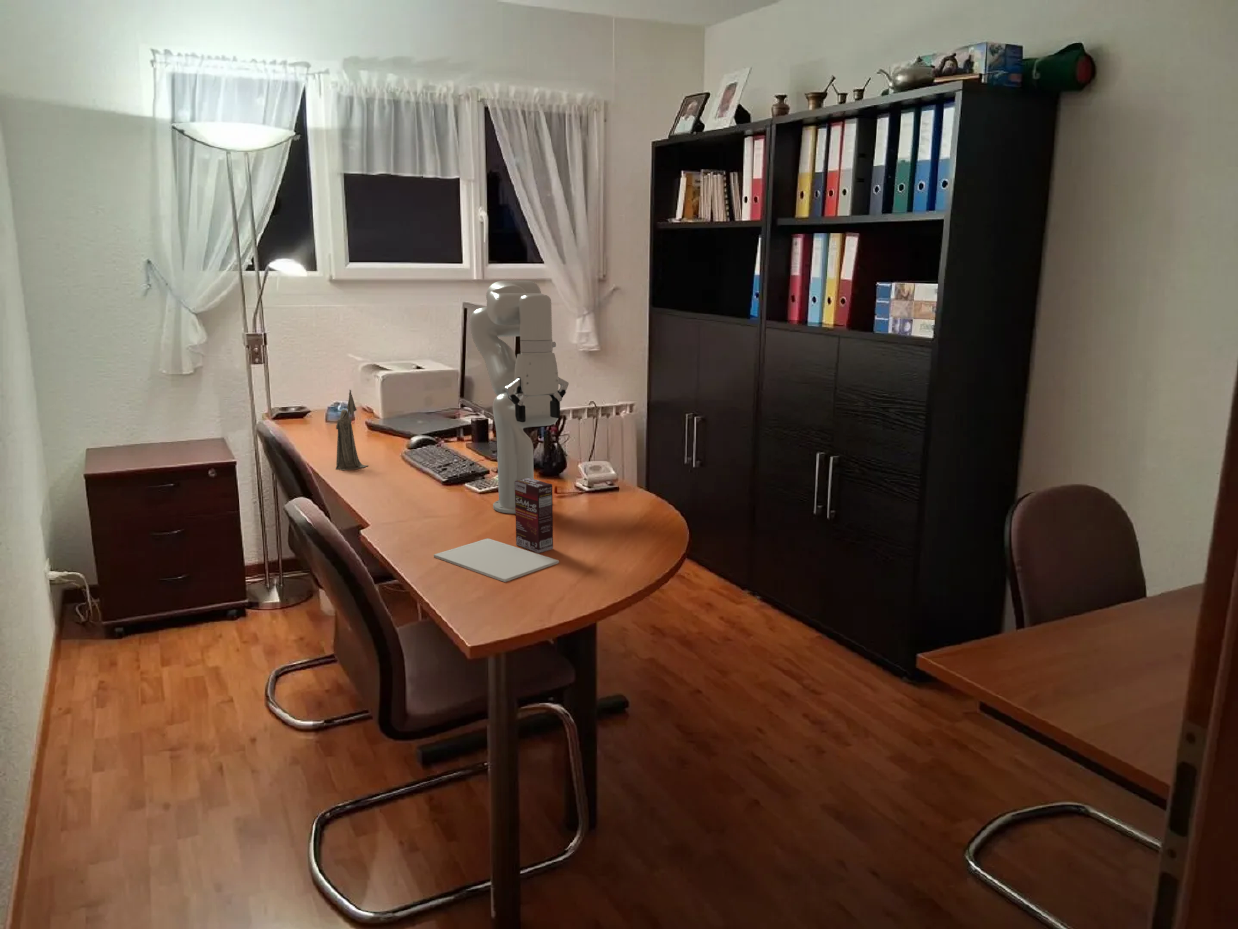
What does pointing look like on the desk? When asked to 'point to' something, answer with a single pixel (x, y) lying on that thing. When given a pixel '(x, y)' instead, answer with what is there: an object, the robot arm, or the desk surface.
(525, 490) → the supplement box
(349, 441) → the wizard figurine
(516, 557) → the mat
